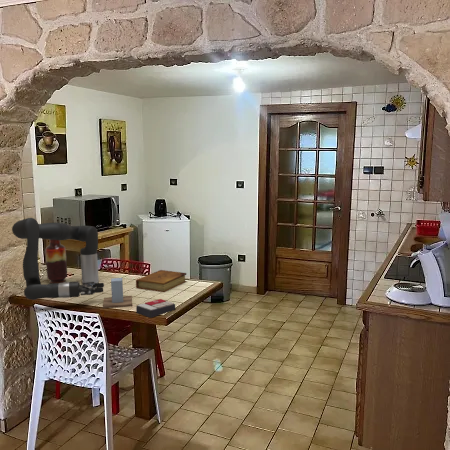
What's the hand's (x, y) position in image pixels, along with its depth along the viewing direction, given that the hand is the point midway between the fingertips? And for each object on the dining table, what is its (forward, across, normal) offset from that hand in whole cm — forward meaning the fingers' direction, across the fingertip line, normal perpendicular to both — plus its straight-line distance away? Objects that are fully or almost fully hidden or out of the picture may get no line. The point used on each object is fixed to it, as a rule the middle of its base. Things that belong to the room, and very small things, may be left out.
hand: (103, 287), depth 228 cm
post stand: (+7, 0, +8) cm, 11 cm away
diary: (+31, +27, +9) cm, 42 cm away
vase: (-28, +49, +9) cm, 57 cm away
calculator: (+24, -17, +9) cm, 31 cm away
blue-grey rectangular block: (+7, 0, +8) cm, 10 cm away
